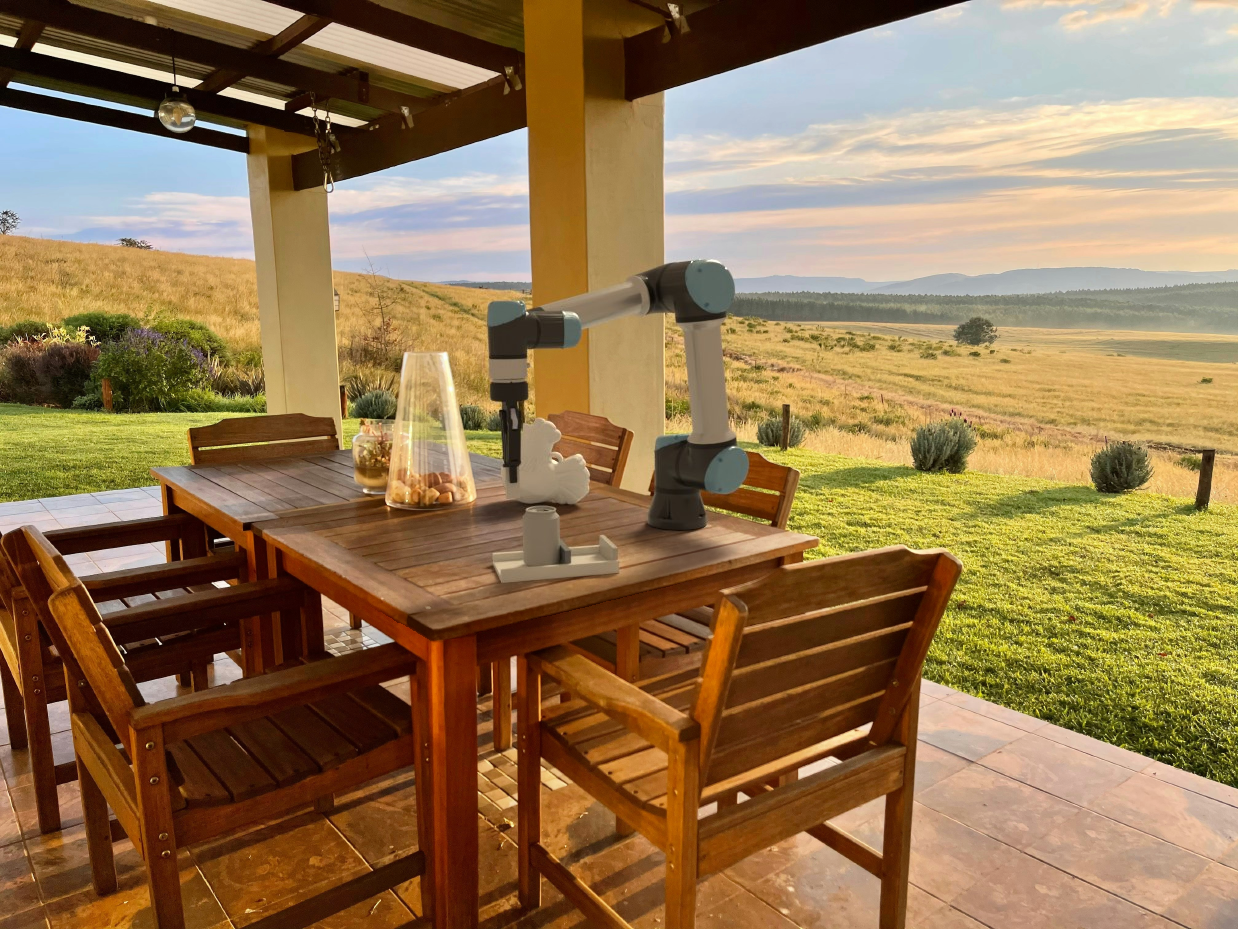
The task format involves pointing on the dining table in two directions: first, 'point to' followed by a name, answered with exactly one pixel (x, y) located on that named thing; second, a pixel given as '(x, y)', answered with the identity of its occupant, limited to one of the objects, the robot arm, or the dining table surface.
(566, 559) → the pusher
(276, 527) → the dining table surface
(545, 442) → the decorative rooster
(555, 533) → the can
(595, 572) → the tray
